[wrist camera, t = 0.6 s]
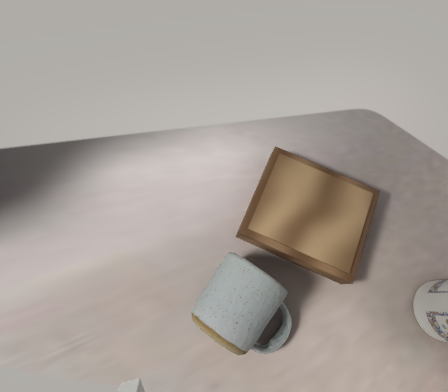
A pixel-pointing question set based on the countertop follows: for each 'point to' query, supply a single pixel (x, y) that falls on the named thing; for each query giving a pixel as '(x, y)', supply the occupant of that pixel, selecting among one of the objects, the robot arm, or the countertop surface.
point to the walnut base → (310, 216)
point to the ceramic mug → (241, 307)
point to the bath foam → (433, 308)
